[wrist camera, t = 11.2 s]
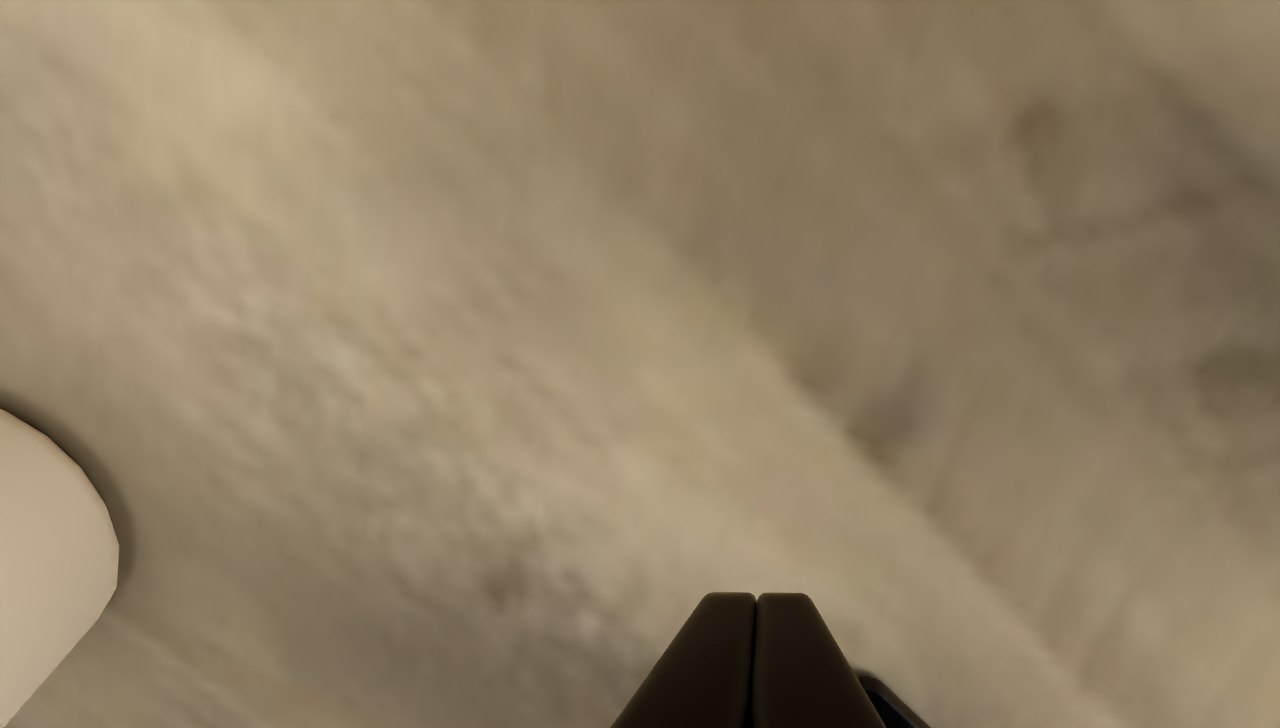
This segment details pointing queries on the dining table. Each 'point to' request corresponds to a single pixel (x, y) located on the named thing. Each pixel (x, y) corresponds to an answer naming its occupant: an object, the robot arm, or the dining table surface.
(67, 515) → the potion bottle
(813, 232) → the dining table surface
